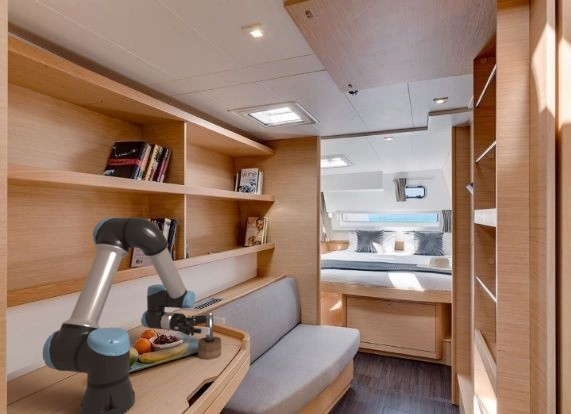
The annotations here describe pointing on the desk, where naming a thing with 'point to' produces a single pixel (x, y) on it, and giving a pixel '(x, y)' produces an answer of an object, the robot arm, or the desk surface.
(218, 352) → the bead
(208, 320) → the round-tipped metal rod
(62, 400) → the desk surface
